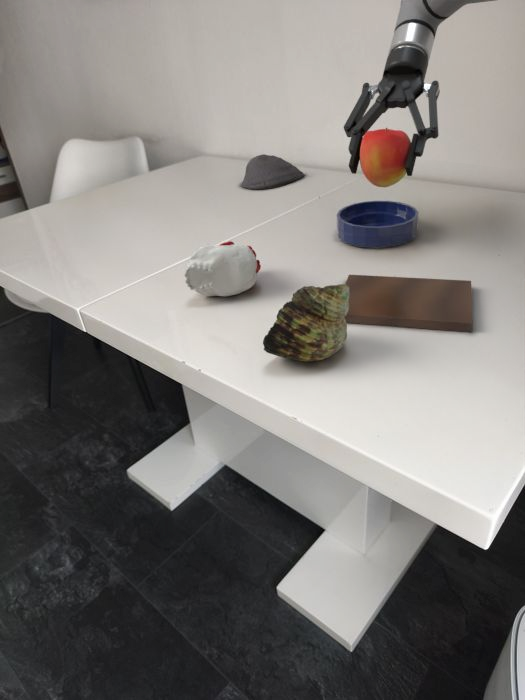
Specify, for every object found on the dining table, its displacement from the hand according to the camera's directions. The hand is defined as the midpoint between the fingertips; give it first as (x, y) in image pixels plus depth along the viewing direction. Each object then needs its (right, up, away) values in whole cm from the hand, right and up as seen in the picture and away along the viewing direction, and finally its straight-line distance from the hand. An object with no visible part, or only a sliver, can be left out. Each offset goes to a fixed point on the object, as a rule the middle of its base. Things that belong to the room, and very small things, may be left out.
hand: (379, 170), depth 95 cm
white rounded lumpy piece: (-26, -21, +1) cm, 34 cm away
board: (+2, -25, -9) cm, 26 cm away
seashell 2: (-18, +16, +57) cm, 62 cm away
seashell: (-14, -32, -19) cm, 40 cm away
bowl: (+3, -8, +17) cm, 18 cm away
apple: (+2, -1, +4) cm, 5 cm away
